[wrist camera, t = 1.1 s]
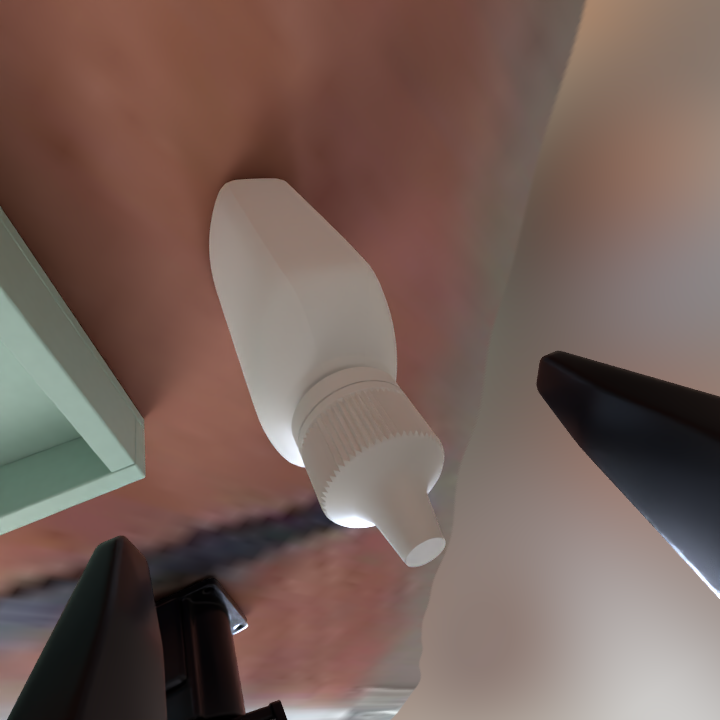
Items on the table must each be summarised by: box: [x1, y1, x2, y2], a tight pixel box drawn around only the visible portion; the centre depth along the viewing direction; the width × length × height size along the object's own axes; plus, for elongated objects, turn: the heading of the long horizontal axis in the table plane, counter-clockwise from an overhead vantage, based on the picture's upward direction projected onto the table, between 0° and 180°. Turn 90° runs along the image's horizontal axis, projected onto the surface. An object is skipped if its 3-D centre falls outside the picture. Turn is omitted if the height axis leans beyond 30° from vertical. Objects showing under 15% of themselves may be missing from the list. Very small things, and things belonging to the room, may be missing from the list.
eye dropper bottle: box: [209, 178, 445, 567], centre depth 11 cm, size 4×6×12 cm
